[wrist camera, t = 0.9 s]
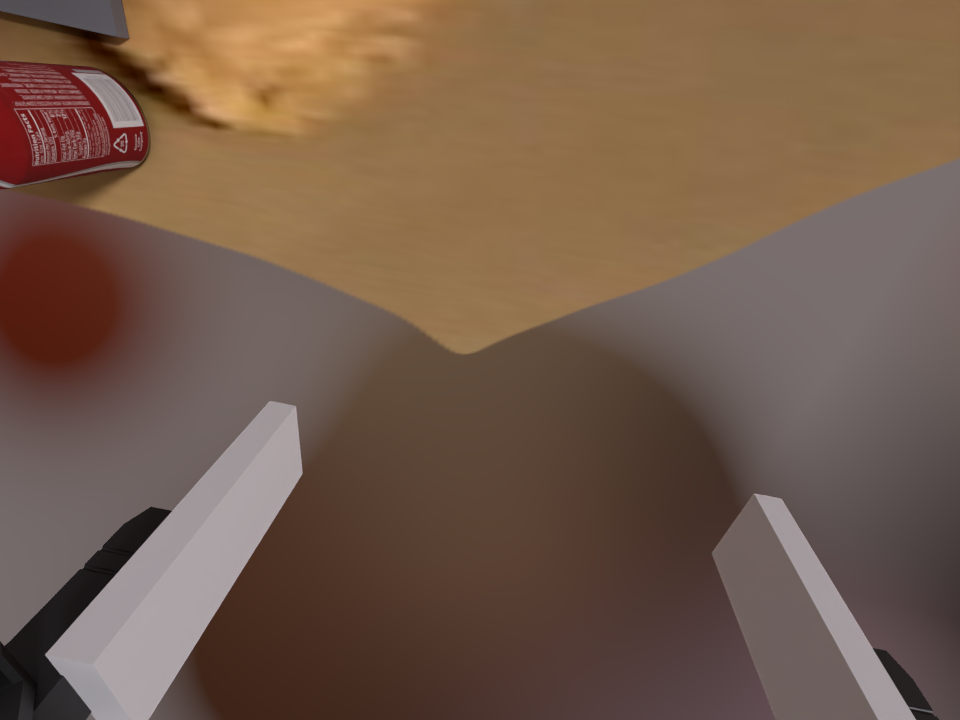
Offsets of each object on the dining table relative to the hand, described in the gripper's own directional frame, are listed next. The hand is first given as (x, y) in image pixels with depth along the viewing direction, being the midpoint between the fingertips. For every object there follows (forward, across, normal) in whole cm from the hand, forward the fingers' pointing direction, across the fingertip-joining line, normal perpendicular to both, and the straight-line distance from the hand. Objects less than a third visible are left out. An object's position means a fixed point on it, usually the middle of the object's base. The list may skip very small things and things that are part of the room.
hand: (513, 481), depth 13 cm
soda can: (+26, -33, +3) cm, 42 cm away
